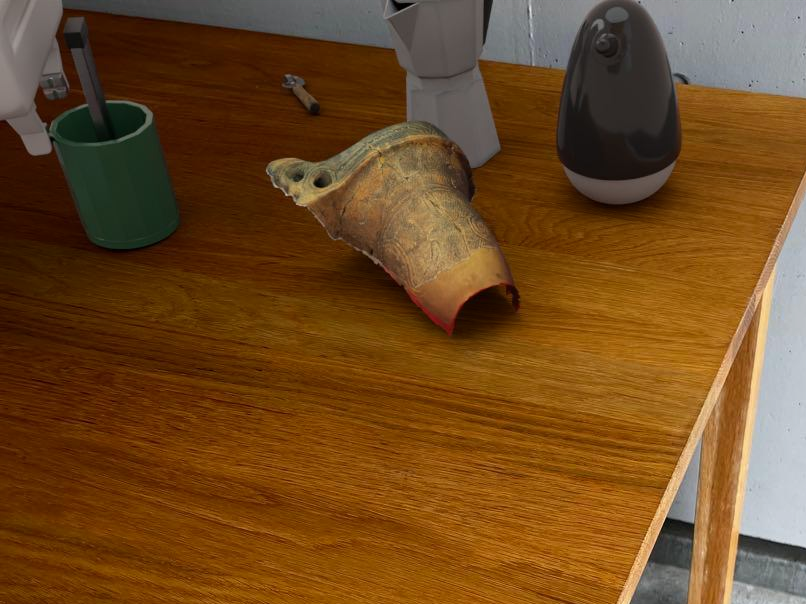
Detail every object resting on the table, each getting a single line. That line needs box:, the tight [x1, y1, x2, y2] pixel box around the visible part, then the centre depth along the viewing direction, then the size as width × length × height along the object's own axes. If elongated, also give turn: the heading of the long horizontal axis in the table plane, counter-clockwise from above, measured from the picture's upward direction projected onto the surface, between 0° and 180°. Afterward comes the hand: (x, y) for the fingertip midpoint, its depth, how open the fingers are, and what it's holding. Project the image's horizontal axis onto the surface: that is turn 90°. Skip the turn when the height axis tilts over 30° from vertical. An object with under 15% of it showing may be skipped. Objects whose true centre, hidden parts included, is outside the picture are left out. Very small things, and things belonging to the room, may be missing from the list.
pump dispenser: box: [555, 0, 683, 205], centre depth 83 cm, size 10×10×15 cm
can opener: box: [281, 73, 321, 114], centre depth 104 cm, size 9×2×1 cm, turn 22°
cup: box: [49, 99, 181, 250], centre depth 86 cm, size 8×8×9 cm
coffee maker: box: [379, 0, 502, 169], centre depth 89 cm, size 15×9×18 cm, turn 148°
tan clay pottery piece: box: [265, 121, 522, 338], centre depth 79 cm, size 17×11×18 cm
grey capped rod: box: [62, 16, 117, 143], centre depth 83 cm, size 1×3×16 cm, turn 10°
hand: (51, 122), depth 85 cm, fingers open, 8 cm apart
